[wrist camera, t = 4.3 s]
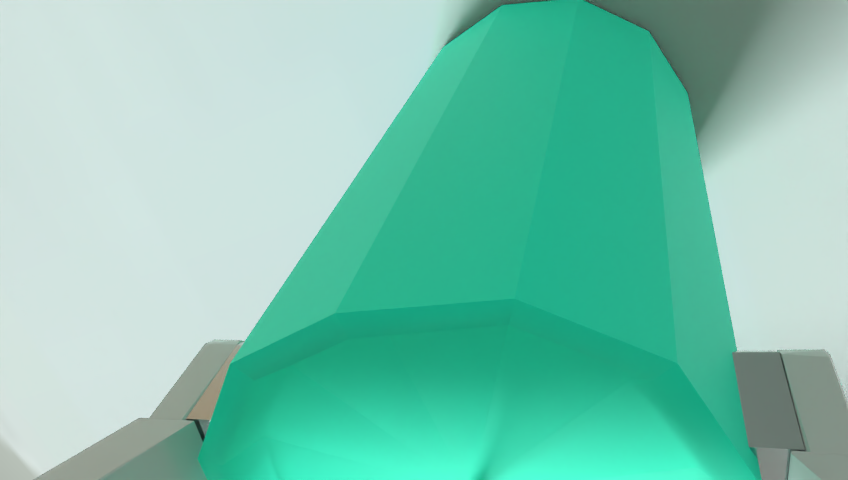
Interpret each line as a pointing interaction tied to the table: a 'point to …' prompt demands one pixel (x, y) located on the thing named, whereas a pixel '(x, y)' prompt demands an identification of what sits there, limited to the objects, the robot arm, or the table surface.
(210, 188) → the table surface
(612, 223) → the candle
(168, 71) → the table surface
